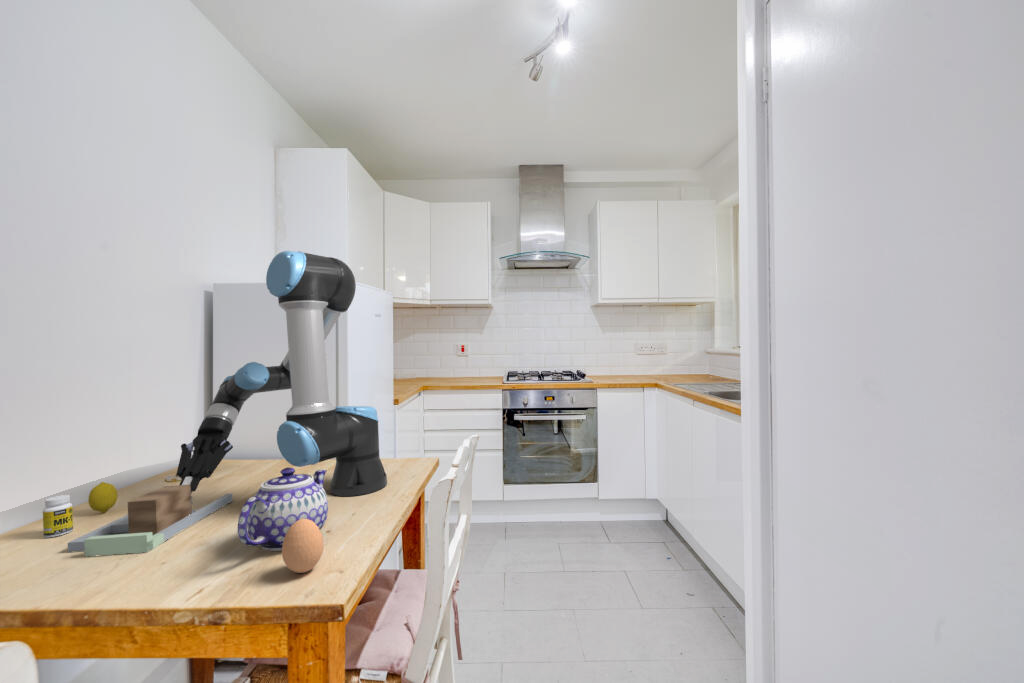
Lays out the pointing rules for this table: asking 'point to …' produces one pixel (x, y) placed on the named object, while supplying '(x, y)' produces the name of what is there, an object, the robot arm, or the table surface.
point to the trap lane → (136, 534)
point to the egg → (302, 546)
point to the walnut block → (159, 509)
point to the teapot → (282, 508)
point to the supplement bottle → (57, 516)
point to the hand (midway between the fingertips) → (179, 503)
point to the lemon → (103, 497)
